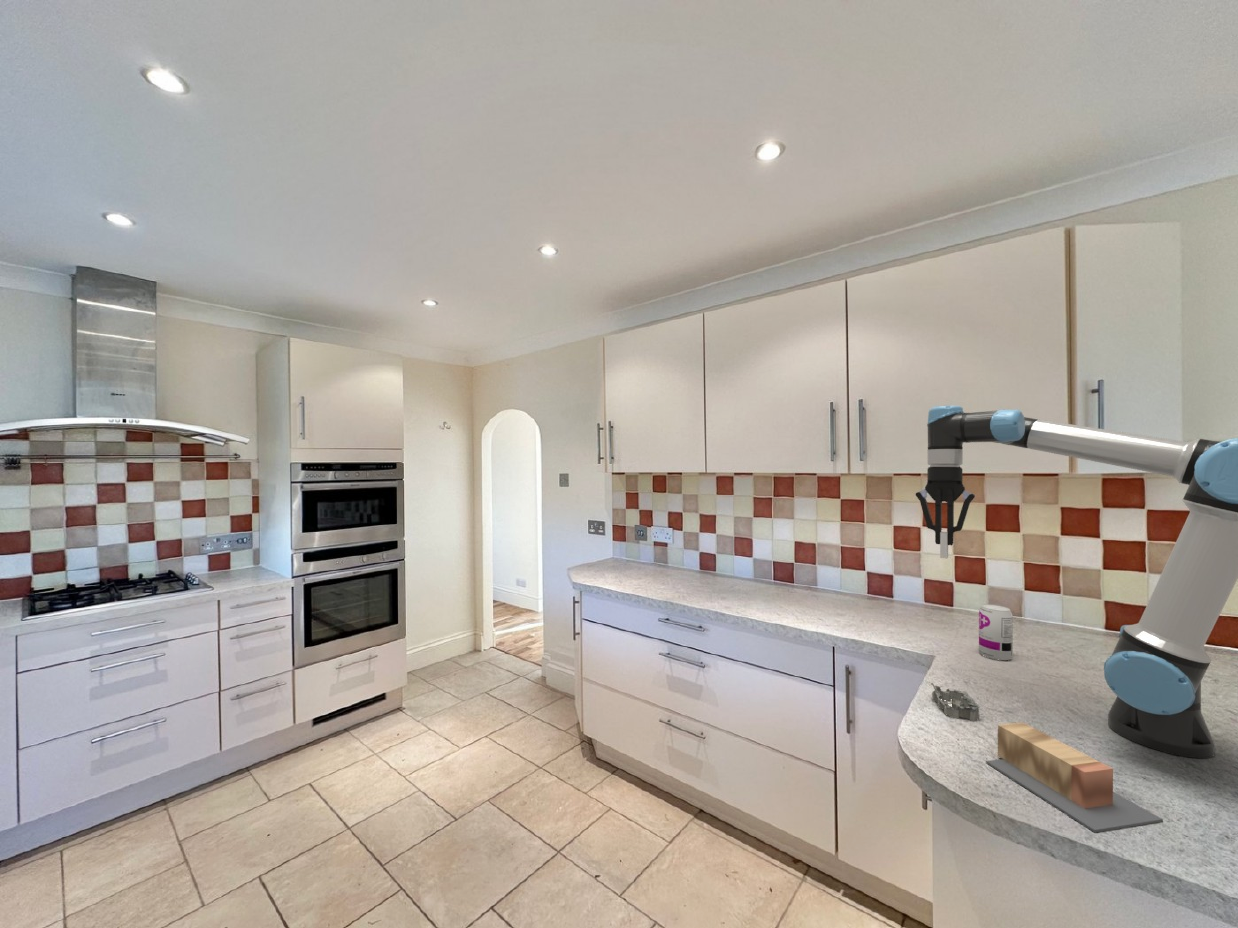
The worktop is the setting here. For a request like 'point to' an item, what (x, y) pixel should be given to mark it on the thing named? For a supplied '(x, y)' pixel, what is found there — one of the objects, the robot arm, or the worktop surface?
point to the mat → (1091, 818)
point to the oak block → (1056, 765)
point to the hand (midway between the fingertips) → (944, 557)
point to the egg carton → (956, 703)
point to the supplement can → (995, 632)
